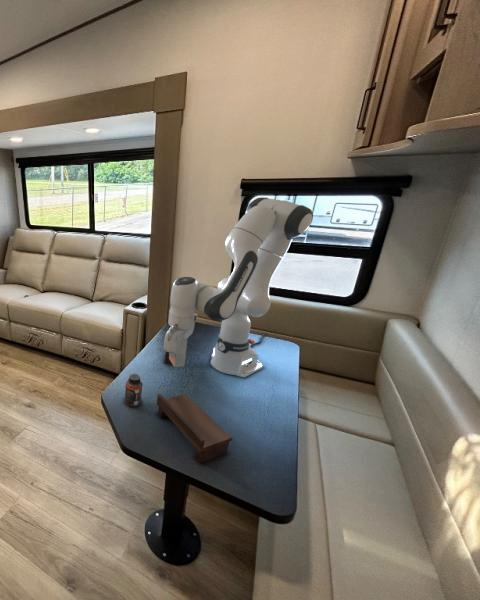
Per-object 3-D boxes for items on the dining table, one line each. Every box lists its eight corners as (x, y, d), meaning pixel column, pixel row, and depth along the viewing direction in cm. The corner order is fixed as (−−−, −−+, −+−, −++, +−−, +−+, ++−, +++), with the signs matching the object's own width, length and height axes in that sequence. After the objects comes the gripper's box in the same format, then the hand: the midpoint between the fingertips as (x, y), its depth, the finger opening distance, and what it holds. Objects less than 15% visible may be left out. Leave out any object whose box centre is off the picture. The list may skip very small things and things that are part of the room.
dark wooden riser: (183, 406, 116) (186, 386, 113) (229, 452, 97) (234, 429, 94) (155, 415, 112) (157, 394, 109) (197, 464, 93) (202, 441, 90)
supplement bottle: (140, 408, 115) (142, 382, 111) (124, 406, 116) (125, 380, 112) (140, 398, 121) (143, 373, 116) (125, 395, 122) (126, 371, 118)
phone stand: (177, 366, 141) (181, 342, 136) (164, 363, 143) (166, 339, 138) (180, 356, 148) (183, 333, 144) (167, 353, 151) (170, 331, 146)
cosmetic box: (168, 359, 126) (171, 332, 122) (178, 358, 127) (181, 331, 122) (174, 367, 121) (176, 340, 116) (184, 366, 121) (188, 339, 117)
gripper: (177, 333, 108) (174, 367, 113) (199, 313, 122) (195, 344, 128) (160, 328, 111) (157, 361, 117) (183, 309, 126) (180, 339, 131)
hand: (177, 352), depth 122 cm, fingers closed on cosmetic box, 7 cm apart
